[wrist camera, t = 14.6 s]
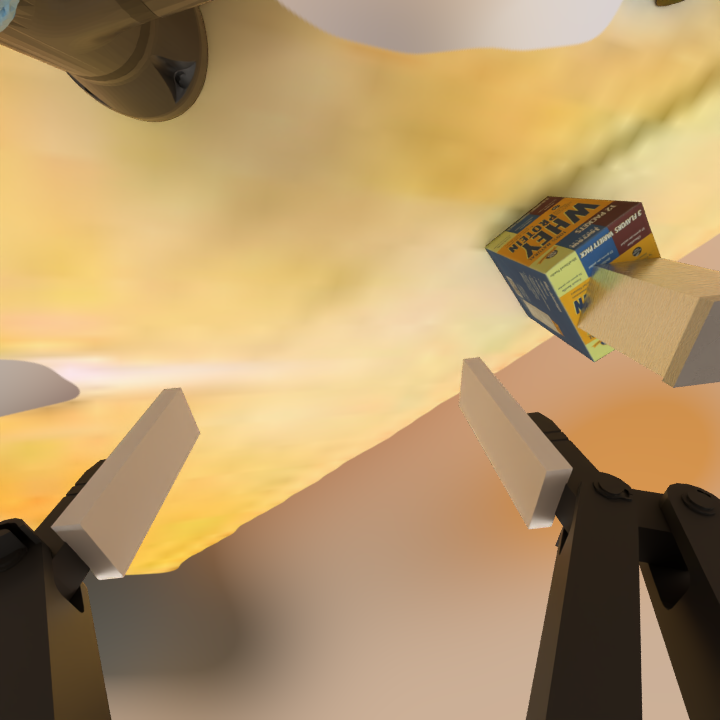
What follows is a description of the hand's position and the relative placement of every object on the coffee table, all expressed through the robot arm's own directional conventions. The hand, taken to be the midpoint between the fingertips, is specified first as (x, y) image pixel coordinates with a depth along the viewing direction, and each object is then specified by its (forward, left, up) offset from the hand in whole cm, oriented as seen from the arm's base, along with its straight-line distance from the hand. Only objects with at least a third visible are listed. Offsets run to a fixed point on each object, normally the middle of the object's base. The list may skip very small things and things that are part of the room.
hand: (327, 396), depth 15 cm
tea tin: (+4, +31, -19) cm, 37 cm away
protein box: (+4, +31, -35) cm, 47 cm away
